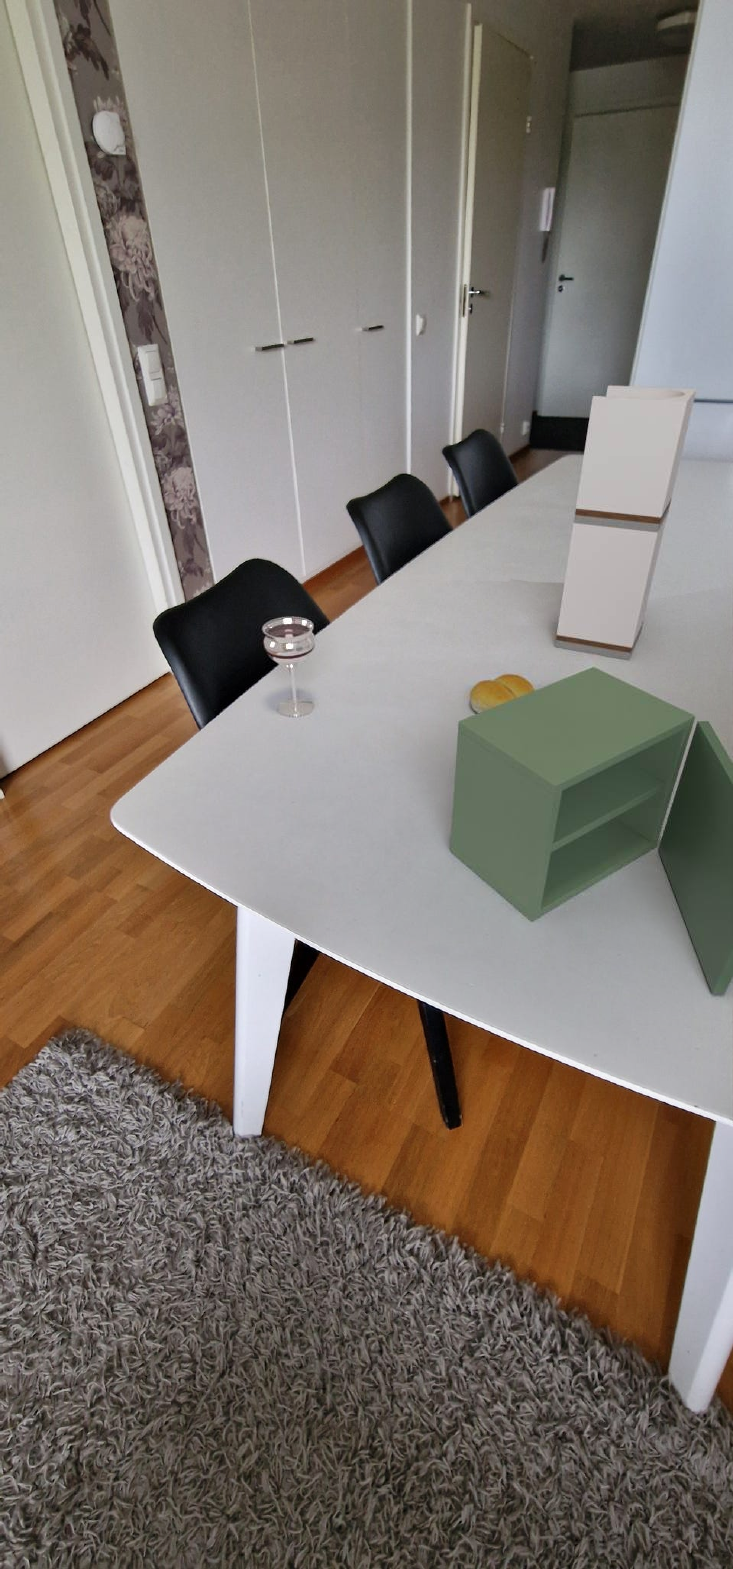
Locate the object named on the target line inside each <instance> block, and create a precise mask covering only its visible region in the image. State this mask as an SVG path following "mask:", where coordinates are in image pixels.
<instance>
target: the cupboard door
mask: <svg viewBox="0 0 733 1569" xmlns="http://www.w3.org/2000/svg"><path fill="white" fill-rule="evenodd" d="M686 754H687V755H686V758H685V761H684V763H683V767H682V771H681V774H680V777H679V781H678V783H677V786H676V790H675V792H674V793H675V794H674V797H673V800H672V803H671V806H670V810H669V813H668V816H667V819H666V823H665V826H664V829H663V832H662V835H661V839H660V841H659V842H660V843H659V845H658V849H657V850H658V853H659V856H660V859H661V862H662V864H663V866H664V869H665V872H666V875H667V877H668V880H669V882H670V886H671V888H672V891H673V893H674V896H675V898H676V902H677V903H678V906H679V909H680V912H681V915H682V918H683V920H684V923H685V925H686V928H687V931H688V933H689V936H690V939H691V941H692V945H693V947H694V949H695V953H696V955H697V958H698V960H699V963H700V966H701V968H702V971H703V973H704V977H705V979H706V981H707V985H708V987H709V990H710V993H711V995H715V996H725V994H726V992H727V989H728V987H729V986H730V983H731V981H732V979H733V761H732V759H731V758H730V756H729V754H728V752H727V750H726V749H725V747H724V745H723V744H722V742H721V740H720V738H719V737H718V735H717V733H716V732H715V730H714V728H713V727H712V725H711V723H710V721H708V720H698V721H696V725H695V727H694V731H693V735H692V738H691V741H690V744H689V748H688V751H687V753H686Z"/></svg>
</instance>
